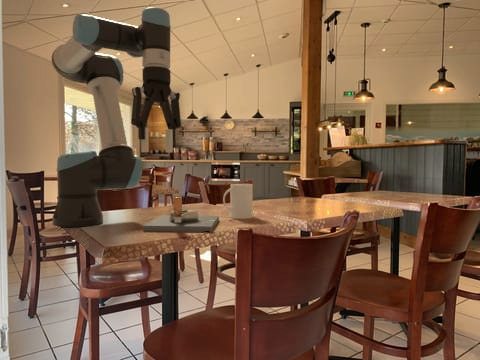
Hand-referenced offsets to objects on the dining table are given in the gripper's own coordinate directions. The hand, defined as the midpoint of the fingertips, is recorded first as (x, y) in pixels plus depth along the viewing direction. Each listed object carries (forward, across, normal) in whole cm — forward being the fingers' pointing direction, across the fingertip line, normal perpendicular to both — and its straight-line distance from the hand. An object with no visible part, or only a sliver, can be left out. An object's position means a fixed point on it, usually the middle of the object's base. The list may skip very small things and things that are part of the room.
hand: (157, 152), depth 102 cm
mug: (+23, +36, +7) cm, 44 cm away
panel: (+23, +13, +6) cm, 27 cm away
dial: (+21, +11, +4) cm, 24 cm away
